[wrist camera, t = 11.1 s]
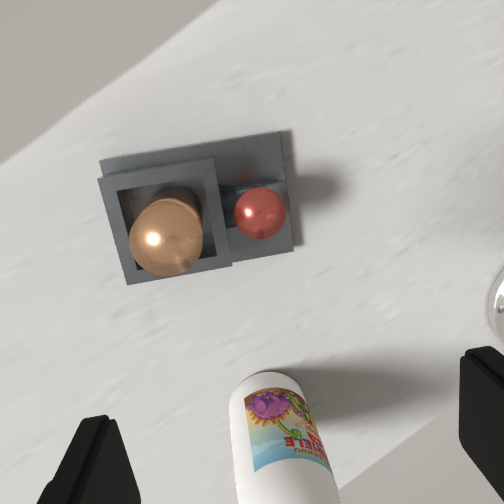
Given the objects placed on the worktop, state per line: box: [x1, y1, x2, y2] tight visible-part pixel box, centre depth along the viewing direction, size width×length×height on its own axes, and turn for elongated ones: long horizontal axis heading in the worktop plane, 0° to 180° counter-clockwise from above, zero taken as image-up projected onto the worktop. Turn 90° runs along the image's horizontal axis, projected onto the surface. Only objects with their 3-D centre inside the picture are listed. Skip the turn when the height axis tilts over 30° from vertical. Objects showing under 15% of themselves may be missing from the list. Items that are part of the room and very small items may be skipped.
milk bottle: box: [229, 372, 341, 504], centre depth 29 cm, size 8×8×20 cm
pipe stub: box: [129, 187, 203, 276], centre depth 27 cm, size 4×4×8 cm
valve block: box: [97, 132, 294, 285], centre depth 29 cm, size 14×10×6 cm
